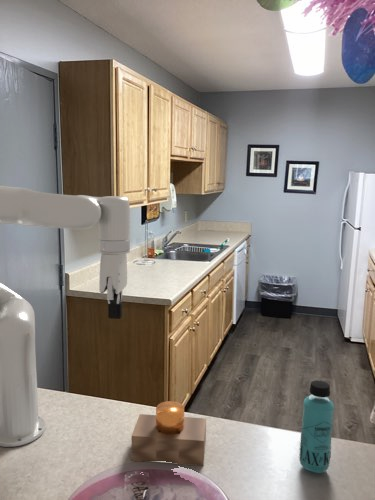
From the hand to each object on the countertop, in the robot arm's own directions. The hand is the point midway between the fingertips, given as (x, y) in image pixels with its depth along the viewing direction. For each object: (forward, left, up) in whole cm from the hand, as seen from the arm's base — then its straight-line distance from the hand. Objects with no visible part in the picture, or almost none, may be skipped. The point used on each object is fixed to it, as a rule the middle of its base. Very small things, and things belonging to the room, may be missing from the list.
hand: (115, 317), depth 109 cm
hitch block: (+16, -13, -27) cm, 34 cm away
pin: (+16, -13, -27) cm, 34 cm away
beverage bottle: (+48, -16, -27) cm, 57 cm away
